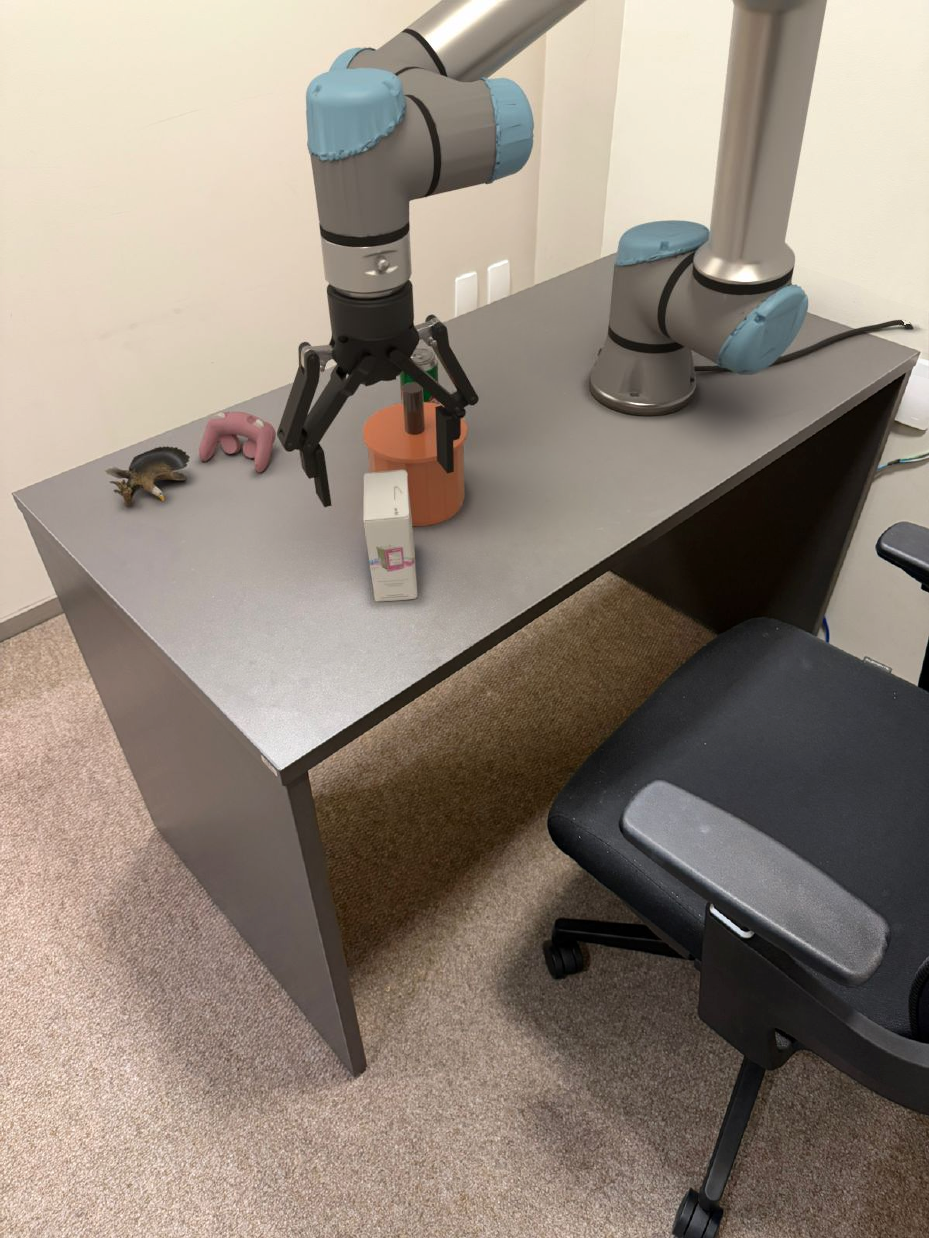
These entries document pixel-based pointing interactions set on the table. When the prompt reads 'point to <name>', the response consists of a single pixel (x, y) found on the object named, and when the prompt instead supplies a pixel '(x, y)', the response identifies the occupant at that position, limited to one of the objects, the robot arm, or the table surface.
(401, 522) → the ink box
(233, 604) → the table surface
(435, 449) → the pot lid
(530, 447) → the table surface
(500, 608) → the table surface
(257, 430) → the video game controller
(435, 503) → the pot
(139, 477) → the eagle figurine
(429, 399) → the soda can
